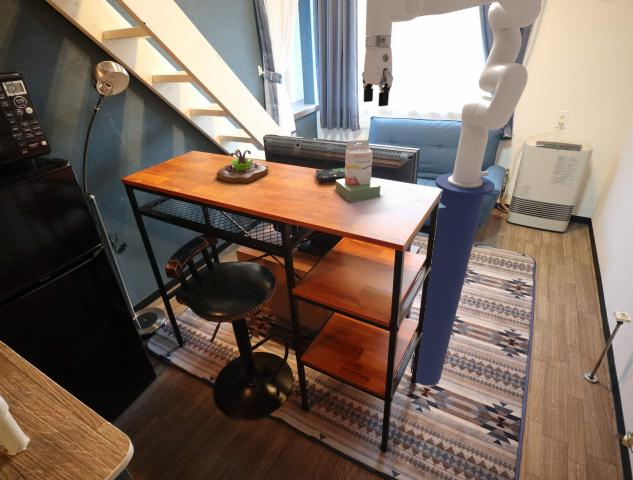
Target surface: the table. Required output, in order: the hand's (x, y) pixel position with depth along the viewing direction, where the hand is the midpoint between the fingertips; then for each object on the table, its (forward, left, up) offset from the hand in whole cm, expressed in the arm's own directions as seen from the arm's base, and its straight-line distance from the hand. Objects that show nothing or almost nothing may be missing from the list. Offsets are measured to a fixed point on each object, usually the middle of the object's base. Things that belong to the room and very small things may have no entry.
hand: (375, 103), depth 111 cm
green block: (+5, -1, -31) cm, 31 cm away
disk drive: (+6, -18, -31) cm, 36 cm away
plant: (+40, -39, -31) cm, 64 cm away
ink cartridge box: (+5, -1, -27) cm, 27 cm away
